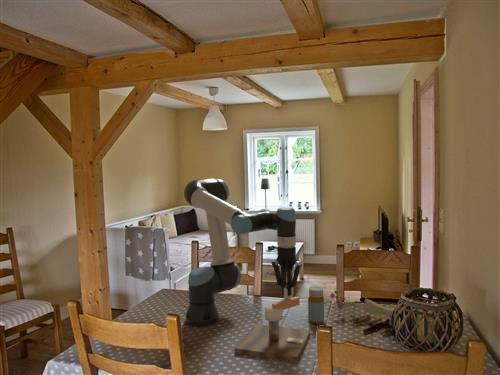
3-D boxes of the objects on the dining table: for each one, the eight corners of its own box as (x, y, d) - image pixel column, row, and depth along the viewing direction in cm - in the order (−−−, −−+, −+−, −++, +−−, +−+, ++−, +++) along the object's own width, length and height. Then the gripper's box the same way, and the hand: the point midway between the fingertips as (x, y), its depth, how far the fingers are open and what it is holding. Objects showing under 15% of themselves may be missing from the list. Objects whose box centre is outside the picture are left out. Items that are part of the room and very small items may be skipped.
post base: (234, 353, 152) (234, 327, 151) (254, 328, 174) (254, 305, 174) (297, 362, 144) (297, 335, 143) (310, 335, 166) (309, 311, 166)
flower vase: (404, 343, 174) (324, 317, 184) (405, 325, 185) (329, 301, 195) (411, 322, 169) (328, 296, 180) (411, 304, 180) (333, 281, 190)
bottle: (324, 325, 177) (323, 291, 176) (307, 324, 178) (307, 290, 177) (324, 319, 183) (324, 286, 182) (308, 318, 185) (308, 285, 184)
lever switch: (272, 323, 154) (272, 308, 153) (261, 317, 159) (260, 303, 159) (303, 313, 163) (303, 299, 163) (292, 308, 169) (292, 294, 169)
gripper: (268, 246, 164) (268, 303, 165) (297, 249, 157) (297, 308, 159) (276, 242, 170) (276, 297, 172) (304, 245, 164) (305, 302, 165)
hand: (286, 302), depth 165 cm, fingers closed
